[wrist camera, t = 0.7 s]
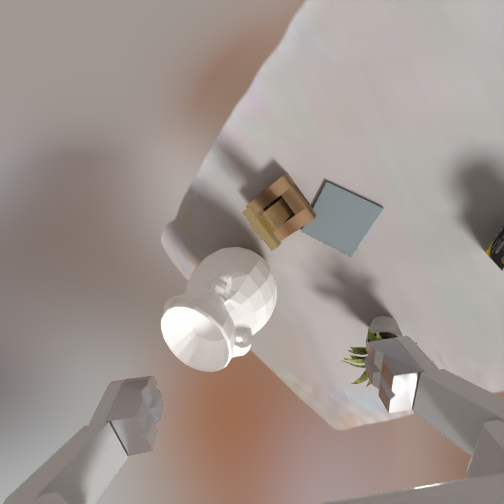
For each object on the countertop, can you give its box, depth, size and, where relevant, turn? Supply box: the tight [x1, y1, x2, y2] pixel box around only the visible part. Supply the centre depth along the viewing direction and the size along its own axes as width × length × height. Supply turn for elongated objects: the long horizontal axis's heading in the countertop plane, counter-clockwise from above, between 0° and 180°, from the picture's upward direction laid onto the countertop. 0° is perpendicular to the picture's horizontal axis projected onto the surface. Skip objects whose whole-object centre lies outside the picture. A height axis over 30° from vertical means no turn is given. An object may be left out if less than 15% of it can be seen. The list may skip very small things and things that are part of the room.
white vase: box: [161, 247, 277, 371], centre depth 53 cm, size 19×18×25 cm
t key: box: [242, 197, 293, 251], centre depth 48 cm, size 4×8×14 cm, turn 42°
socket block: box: [246, 173, 317, 241], centre depth 53 cm, size 10×10×3 cm
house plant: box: [341, 315, 433, 386], centre depth 49 cm, size 14×14×16 cm
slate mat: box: [301, 182, 383, 257], centre depth 50 cm, size 11×11×1 cm
